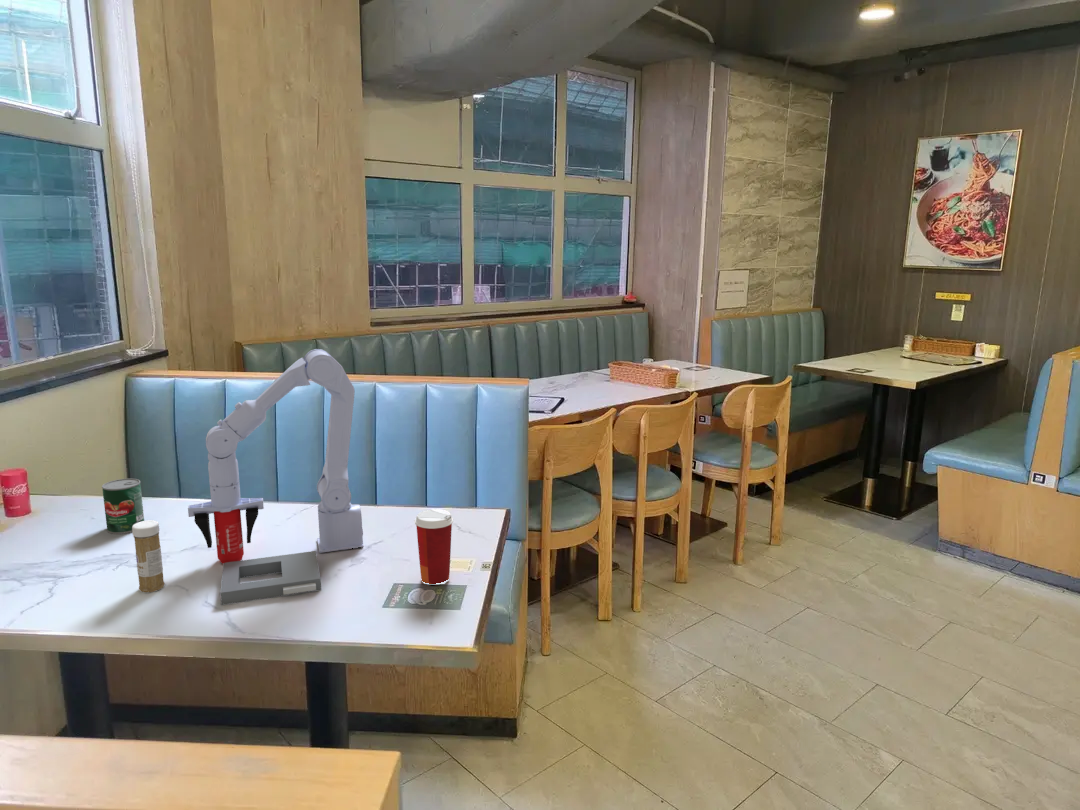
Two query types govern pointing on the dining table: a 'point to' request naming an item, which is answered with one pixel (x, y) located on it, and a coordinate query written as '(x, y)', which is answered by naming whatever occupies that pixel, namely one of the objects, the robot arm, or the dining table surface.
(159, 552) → the sprinkles bottle
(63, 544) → the dining table surface
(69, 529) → the dining table surface
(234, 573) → the grey tray with recess
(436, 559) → the paper cup
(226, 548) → the red soda can
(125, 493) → the canned tomato
